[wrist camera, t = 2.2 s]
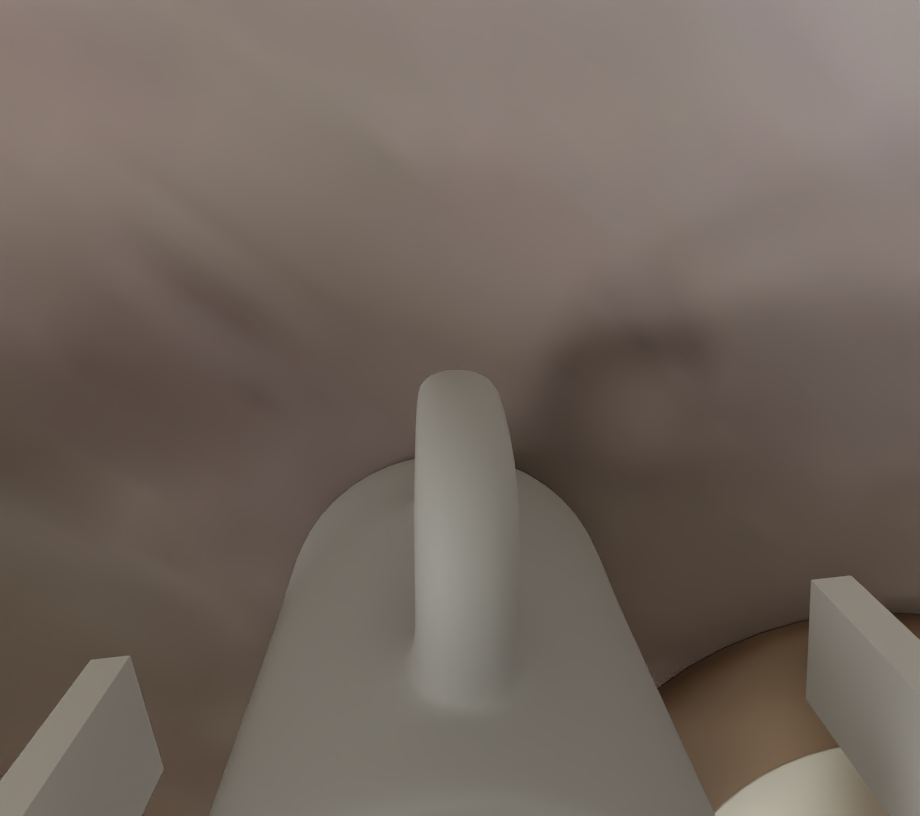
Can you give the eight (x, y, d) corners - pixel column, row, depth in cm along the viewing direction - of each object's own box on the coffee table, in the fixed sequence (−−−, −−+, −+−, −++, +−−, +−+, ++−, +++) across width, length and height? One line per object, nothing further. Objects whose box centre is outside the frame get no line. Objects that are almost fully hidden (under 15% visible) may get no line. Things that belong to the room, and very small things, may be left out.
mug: (589, 714, 21) (748, 1232, 11) (304, 721, 21) (175, 1265, 10) (618, 318, 18) (900, 508, 7) (274, 319, 17) (31, 520, 7)
